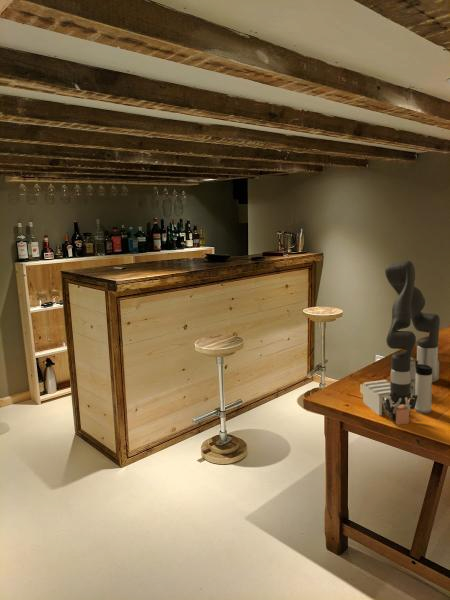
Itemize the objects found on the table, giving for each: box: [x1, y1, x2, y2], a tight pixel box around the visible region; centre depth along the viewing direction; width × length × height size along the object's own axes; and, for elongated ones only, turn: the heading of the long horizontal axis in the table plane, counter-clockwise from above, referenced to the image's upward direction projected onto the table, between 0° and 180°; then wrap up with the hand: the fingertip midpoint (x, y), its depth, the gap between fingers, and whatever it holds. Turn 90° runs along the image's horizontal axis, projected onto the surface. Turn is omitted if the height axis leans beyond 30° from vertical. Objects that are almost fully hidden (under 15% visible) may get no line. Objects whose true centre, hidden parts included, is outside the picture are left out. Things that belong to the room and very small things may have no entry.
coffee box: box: [410, 356, 418, 394], centre depth 208 cm, size 9×6×16 cm
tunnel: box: [362, 379, 396, 416], centre depth 194 cm, size 10×14×10 cm
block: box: [394, 404, 410, 426], centre depth 181 cm, size 5×5×6 cm
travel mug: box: [414, 364, 433, 414], centre depth 187 cm, size 6×7×20 cm
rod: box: [359, 383, 391, 417], centre depth 198 cm, size 4×26×4 cm, turn 9°
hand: (400, 419), depth 181 cm, fingers closed on block, 5 cm apart
